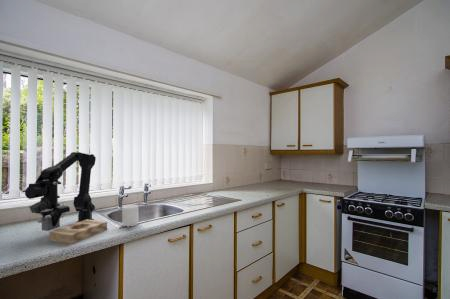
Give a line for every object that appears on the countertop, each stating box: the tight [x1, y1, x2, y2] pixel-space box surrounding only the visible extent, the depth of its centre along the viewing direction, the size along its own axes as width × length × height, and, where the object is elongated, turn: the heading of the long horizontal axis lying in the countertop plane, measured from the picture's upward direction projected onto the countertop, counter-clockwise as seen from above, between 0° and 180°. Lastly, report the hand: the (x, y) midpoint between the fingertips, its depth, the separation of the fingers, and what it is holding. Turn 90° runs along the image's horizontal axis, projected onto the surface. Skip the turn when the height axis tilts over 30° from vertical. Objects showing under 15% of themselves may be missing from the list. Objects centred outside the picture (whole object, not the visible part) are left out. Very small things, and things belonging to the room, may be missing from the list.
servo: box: [36, 215, 64, 232], centre depth 117 cm, size 10×4×7 cm, turn 162°
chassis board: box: [49, 219, 108, 245], centre depth 118 cm, size 20×14×4 cm
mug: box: [121, 204, 139, 228], centre depth 134 cm, size 12×8×10 cm
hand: (50, 225), depth 117 cm, fingers closed on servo, 4 cm apart
